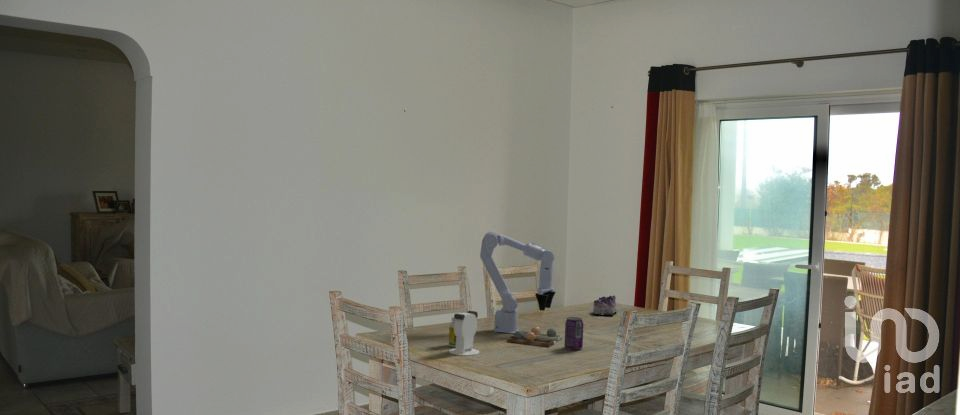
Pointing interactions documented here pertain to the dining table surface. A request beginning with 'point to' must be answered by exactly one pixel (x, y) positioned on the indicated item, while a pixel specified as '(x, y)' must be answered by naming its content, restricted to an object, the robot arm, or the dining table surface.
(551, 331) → the grey ball
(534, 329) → the terracotta ball
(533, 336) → the terracotta ball
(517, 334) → the grey ball
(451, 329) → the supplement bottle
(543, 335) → the sage trough
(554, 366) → the dining table surface
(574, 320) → the beverage can
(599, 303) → the geode
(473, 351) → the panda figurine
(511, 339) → the walnut trough
